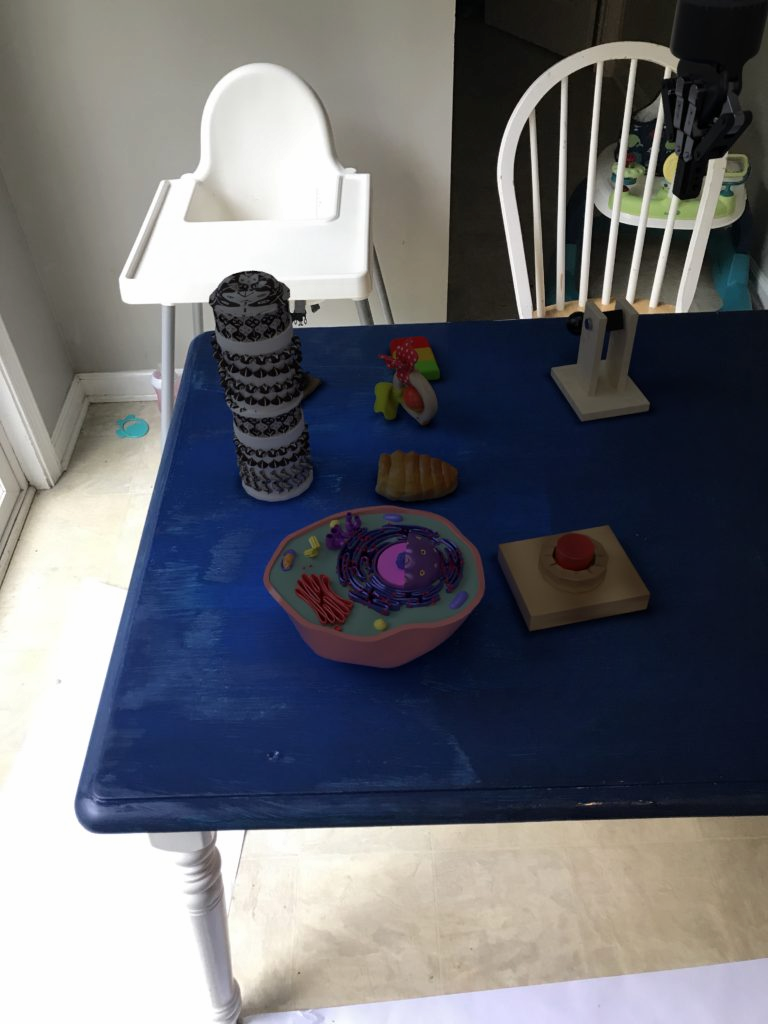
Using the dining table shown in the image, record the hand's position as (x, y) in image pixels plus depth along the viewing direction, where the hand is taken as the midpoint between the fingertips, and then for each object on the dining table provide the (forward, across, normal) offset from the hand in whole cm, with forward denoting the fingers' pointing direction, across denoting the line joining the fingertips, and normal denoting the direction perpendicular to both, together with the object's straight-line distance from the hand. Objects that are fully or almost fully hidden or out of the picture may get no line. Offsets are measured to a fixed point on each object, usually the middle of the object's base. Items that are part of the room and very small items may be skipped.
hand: (684, 196), depth 82 cm
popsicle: (+29, +20, +23) cm, 42 cm away
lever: (+23, +14, +1) cm, 27 cm away
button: (+26, -21, +17) cm, 37 cm away
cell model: (+29, -22, +37) cm, 52 cm away
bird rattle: (+29, +11, +26) cm, 41 cm away
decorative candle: (+29, +4, +44) cm, 53 cm away
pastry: (+29, -2, +29) cm, 41 cm away
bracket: (+30, +10, +1) cm, 31 cm away
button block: (+29, -21, +17) cm, 40 cm away
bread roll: (+29, +22, +42) cm, 56 cm away
